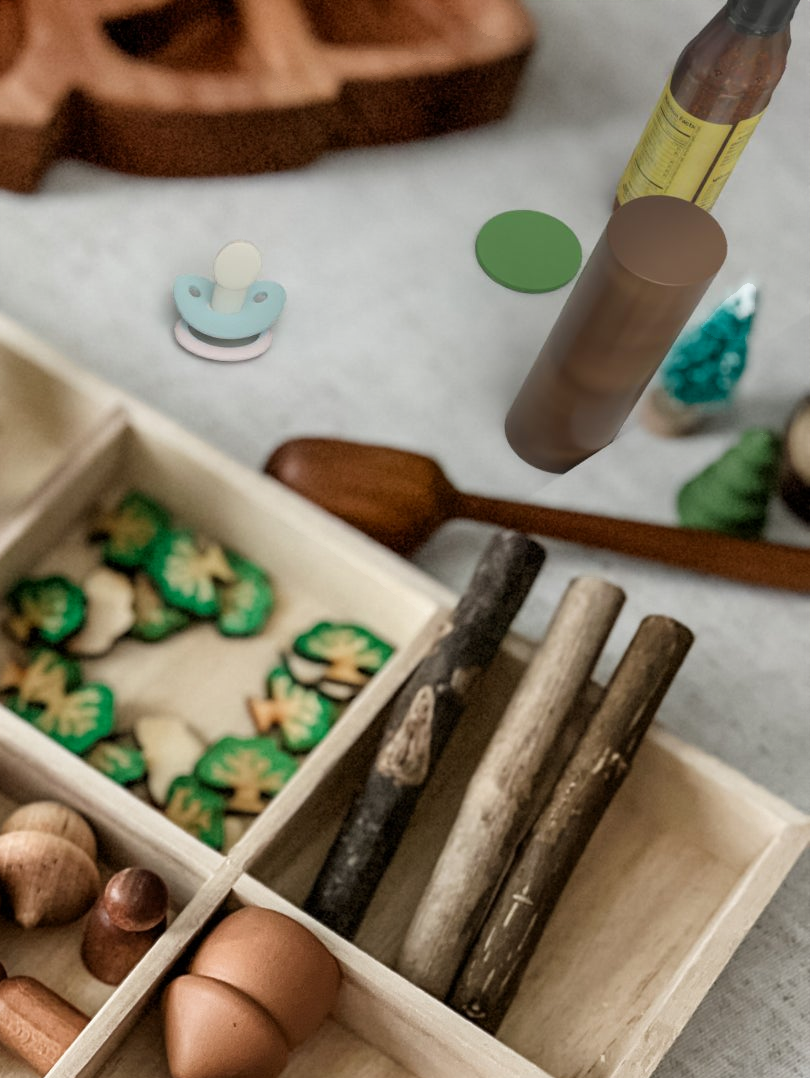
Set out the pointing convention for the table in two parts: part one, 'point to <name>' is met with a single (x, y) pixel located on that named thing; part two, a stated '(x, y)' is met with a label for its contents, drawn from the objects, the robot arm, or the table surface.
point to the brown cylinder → (615, 330)
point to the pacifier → (228, 304)
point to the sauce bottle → (711, 104)
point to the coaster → (528, 251)
